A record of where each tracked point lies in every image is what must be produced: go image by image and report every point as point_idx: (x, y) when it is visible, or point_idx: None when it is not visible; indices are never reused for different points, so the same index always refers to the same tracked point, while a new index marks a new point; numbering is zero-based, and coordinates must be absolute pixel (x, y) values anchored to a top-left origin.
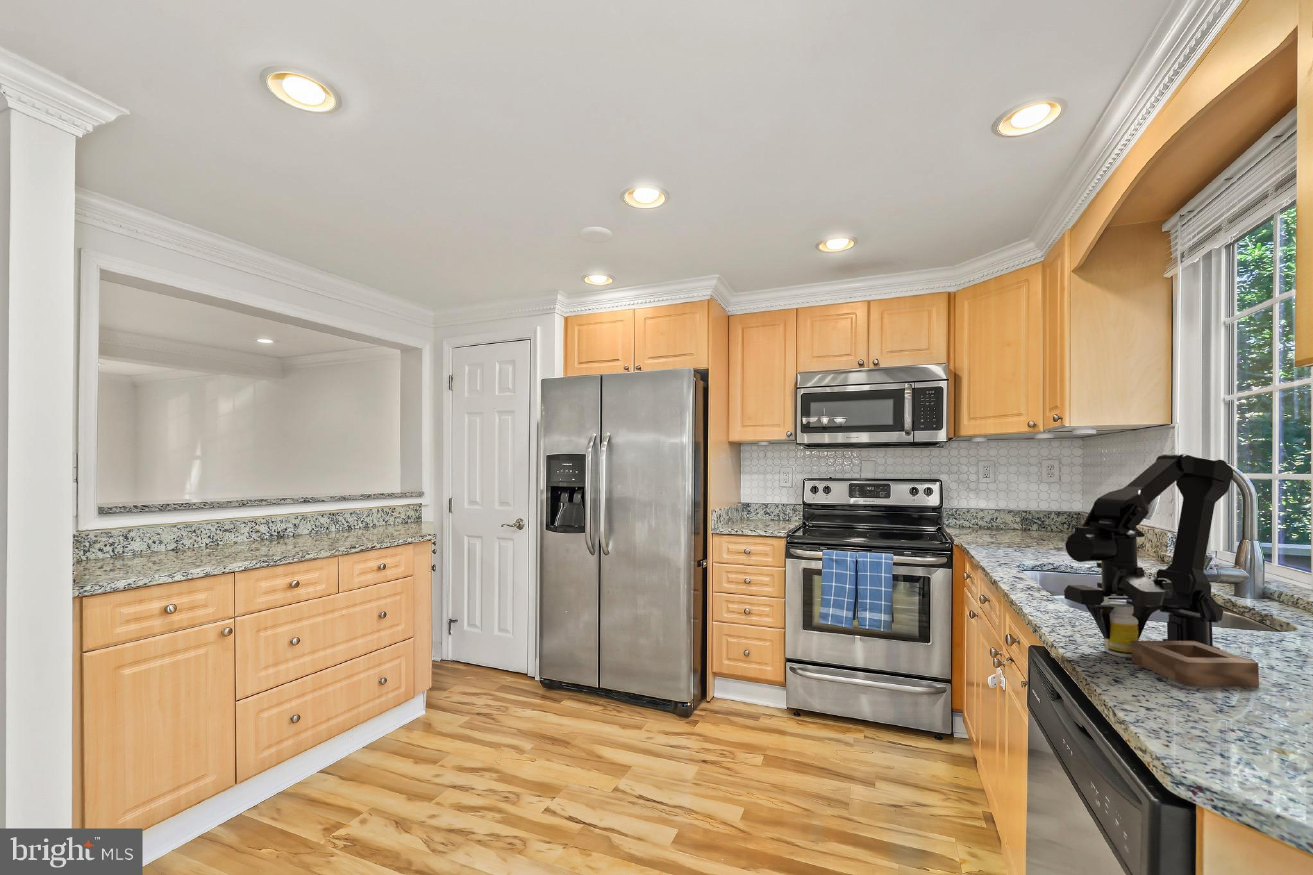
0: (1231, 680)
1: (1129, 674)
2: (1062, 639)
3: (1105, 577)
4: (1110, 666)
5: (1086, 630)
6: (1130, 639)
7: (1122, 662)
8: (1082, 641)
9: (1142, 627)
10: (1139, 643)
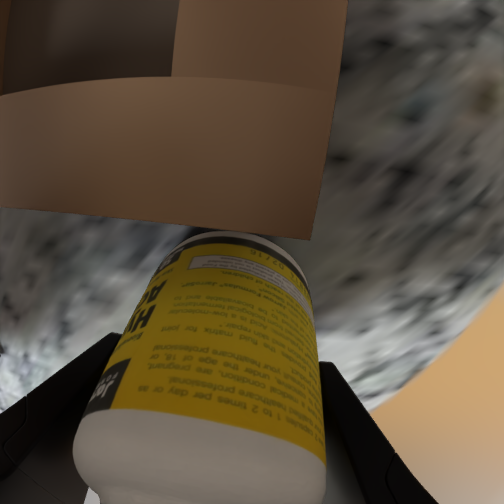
0: None
1: (489, 24)
2: None
3: None
4: (482, 138)
5: None
6: (231, 302)
7: (364, 176)
8: None
9: (59, 381)
10: (317, 140)
